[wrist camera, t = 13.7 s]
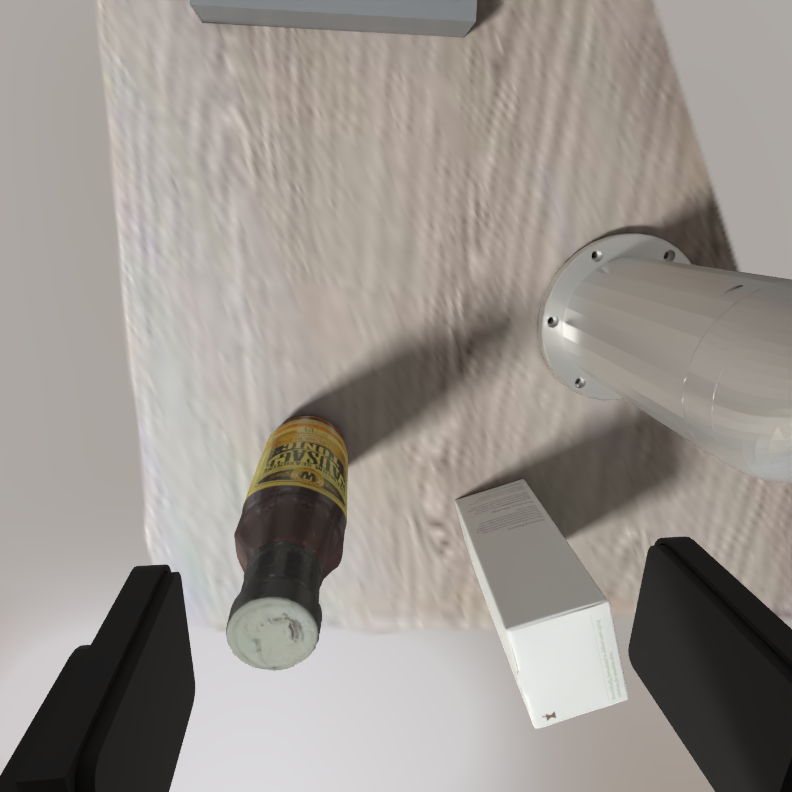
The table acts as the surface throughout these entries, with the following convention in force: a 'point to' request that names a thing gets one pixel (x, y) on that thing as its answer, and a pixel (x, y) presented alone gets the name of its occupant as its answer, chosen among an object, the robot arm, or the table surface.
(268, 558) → the sauce bottle
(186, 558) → the table surface
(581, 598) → the skincare box
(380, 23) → the tray
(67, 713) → the robot arm
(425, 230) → the table surface
